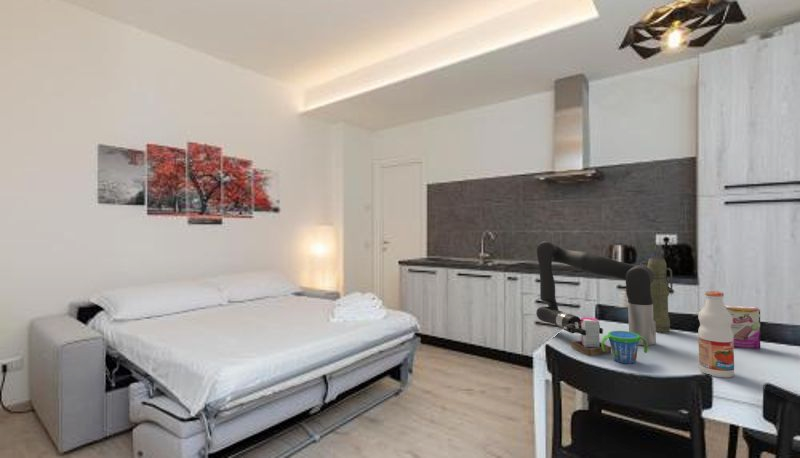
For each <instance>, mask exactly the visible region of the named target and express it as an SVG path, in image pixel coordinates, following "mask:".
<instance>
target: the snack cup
mask: <svg viewBox="0 0 800 458" xmlns="http://www.w3.org/2000/svg"><path fill="white" fill-rule="evenodd" d="M607 339H608V340H609V343H610V347H611V354H612V357H613V360H614V361H616V362H619V363H621V364H634V363H636V361H637V357H638V352H639V351H638V349H639V345H638V343H639V340H640V339H642V340H643V342H644V345H643V353H646V354H647V352H648V350H649V349H648V346H649V345H647V343H646V341H645V339H644V338H642V337H641V336H639V335H638V334H636V333H633V332H629V331H627V330H626V331H624V330H612V331H609V332H608V333H607V334H606V335H604V336H603V338H602V340H601V342H600V343H601V347H602V350H603V351H604V352H605V350H604V344H605V341H606V340H607Z"/></svg>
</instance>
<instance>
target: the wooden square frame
mask: <svg viewBox="0 0 800 458" xmlns="http://www.w3.org/2000/svg"><path fill="white" fill-rule="evenodd" d="M601 343H602V342H600V341H599V344H600V347H596V348H587V347H585V346H583V345H582V344H581V340H575V341H571V343H570V345H571V349H573V350H576V351H577V352H579V353H582V354H583V355H586V356H588V357H589V356H597V355H606V354H607V355H608V354H612V349H611V345H610V346H609V345H607V344H605V343H604V350H605V352H604V351H603V350H602V347H601Z"/></svg>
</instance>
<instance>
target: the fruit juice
mask: <svg viewBox="0 0 800 458" xmlns="http://www.w3.org/2000/svg"><path fill="white" fill-rule="evenodd" d="M704 295H705V298H706V299H705V302H704V303H705V304H704V305H703V308H701V310H700V311H699V312H698V317H697V318H698V321H699V324H700V325H699V327H698V330H697V331H698V332H697V337H698V338H697V340H698V367H699V371H700V372H701V373H703V374H705V373H707V374H711V375H712V376H711V375H710V376H711V377H714V378H715V377H717V378H723V379H725V378H727V379H728V378H732V377H734V376H735V347H734V339H733V332H732V330H731V324H732V316H731V314H730V313H729V312H728V311H727V310H726V308H725V306H724V305H725V304H724V301H723V299H724V297H725V296H724V295H725V294H724V292H722V291H714V290H713V291H712V290H708V291H705V294H704ZM707 374H706V375H707Z"/></svg>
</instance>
